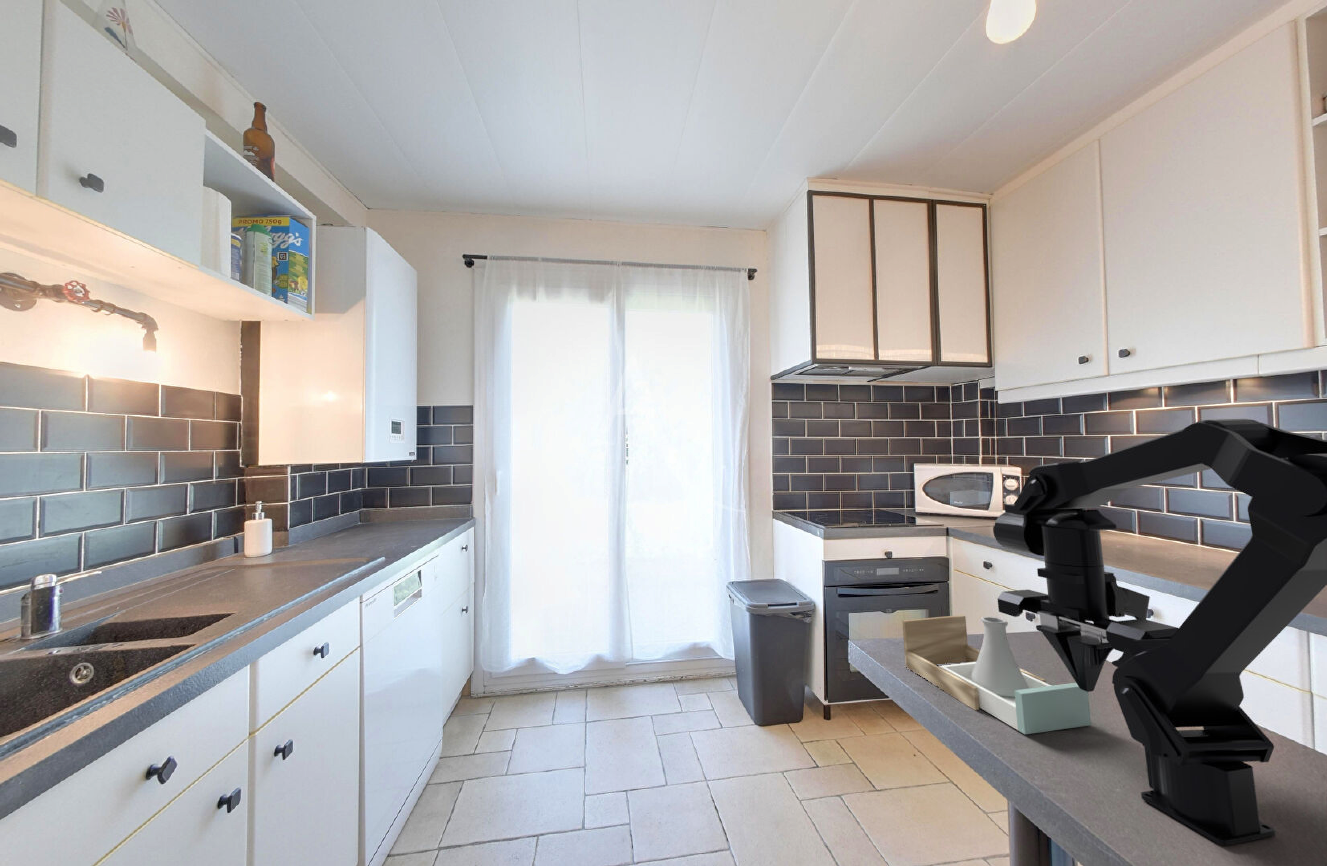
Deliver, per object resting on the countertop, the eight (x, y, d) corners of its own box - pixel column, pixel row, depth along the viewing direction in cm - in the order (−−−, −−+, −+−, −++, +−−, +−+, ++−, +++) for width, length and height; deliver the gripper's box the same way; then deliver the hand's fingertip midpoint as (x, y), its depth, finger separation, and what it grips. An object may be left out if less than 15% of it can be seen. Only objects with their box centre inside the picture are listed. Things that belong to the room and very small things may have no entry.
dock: (1047, 701, 68) (1041, 644, 69) (975, 710, 66) (970, 652, 67) (966, 661, 83) (962, 614, 84) (905, 667, 81) (902, 620, 82)
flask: (991, 699, 67) (985, 628, 68) (961, 677, 74) (956, 612, 75) (1043, 699, 67) (1036, 627, 67) (1007, 676, 74) (1002, 611, 75)
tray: (1091, 725, 62) (1087, 685, 62) (1025, 734, 60) (1021, 694, 60) (995, 677, 76) (993, 645, 76) (940, 684, 74) (937, 651, 75)
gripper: (1220, 573, 52) (1240, 721, 50) (1054, 548, 70) (1065, 656, 69) (1138, 580, 50) (1156, 734, 48) (990, 552, 68) (1000, 663, 67)
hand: (1086, 690), depth 58 cm, fingers closed
